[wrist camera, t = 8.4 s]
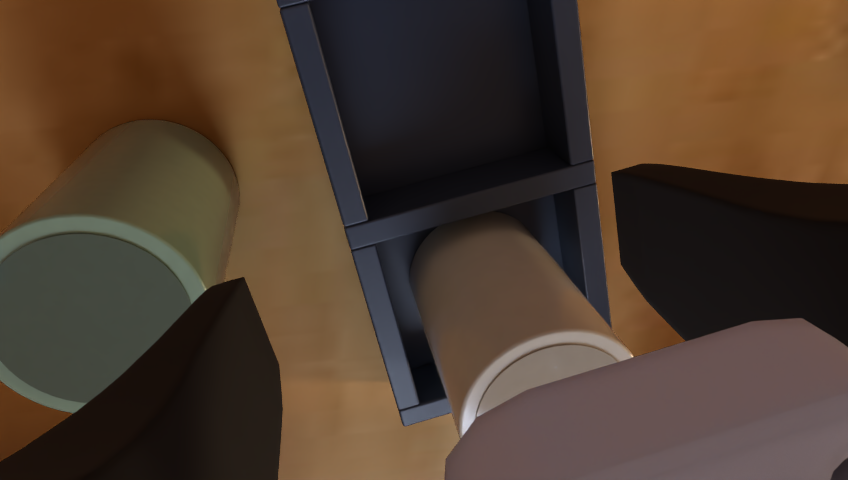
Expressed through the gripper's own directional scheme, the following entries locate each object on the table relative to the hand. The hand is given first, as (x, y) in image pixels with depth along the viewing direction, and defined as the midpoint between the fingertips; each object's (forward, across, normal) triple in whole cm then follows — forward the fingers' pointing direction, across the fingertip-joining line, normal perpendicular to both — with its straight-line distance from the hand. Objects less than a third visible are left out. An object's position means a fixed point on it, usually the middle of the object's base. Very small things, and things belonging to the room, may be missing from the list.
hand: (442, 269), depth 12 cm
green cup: (+10, +7, 0) cm, 13 cm away
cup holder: (+10, -2, +2) cm, 11 cm away
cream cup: (+10, -2, +6) cm, 12 cm away
